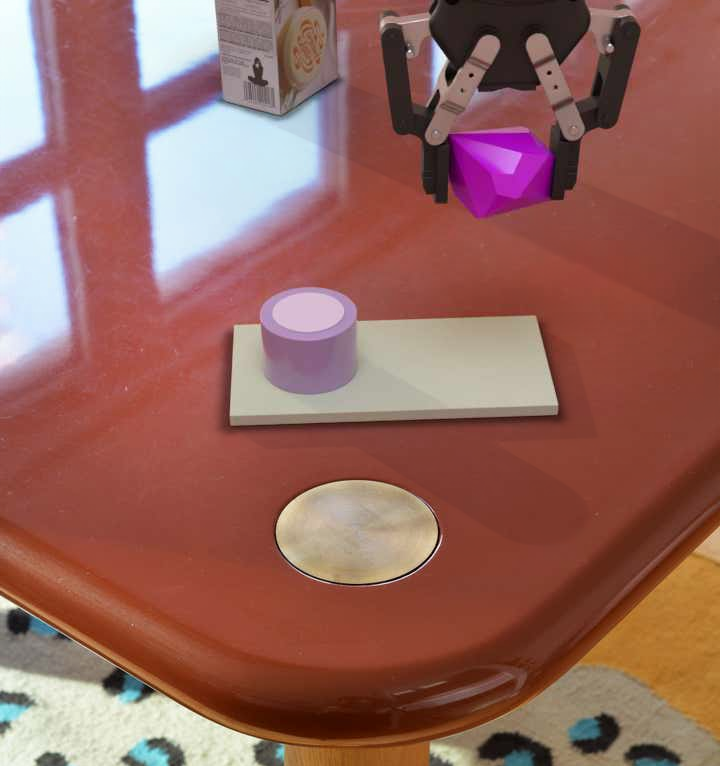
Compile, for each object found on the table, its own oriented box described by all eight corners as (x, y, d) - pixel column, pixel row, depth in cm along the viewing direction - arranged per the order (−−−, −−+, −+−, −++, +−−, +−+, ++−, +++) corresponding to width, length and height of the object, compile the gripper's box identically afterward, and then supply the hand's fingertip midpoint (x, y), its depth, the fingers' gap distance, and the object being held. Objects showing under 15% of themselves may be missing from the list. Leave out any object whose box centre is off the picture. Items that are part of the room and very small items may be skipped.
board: (535, 325, 91) (536, 315, 90) (557, 415, 83) (558, 404, 83) (234, 334, 90) (234, 324, 90) (230, 426, 83) (229, 415, 82)
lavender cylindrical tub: (355, 338, 88) (355, 284, 85) (360, 393, 84) (359, 337, 81) (263, 341, 88) (259, 287, 85) (262, 396, 84) (258, 340, 81)
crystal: (509, 235, 76) (514, 159, 73) (433, 206, 79) (435, 130, 76) (562, 201, 79) (569, 126, 76) (488, 174, 82) (492, 100, 78)
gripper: (376, -87, 64) (376, 233, 75) (678, -95, 65) (634, 224, 76) (367, -134, 70) (369, 170, 81) (645, -141, 70) (609, 162, 81)
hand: (497, 194), depth 78 cm, fingers closed on crystal, 6 cm apart
